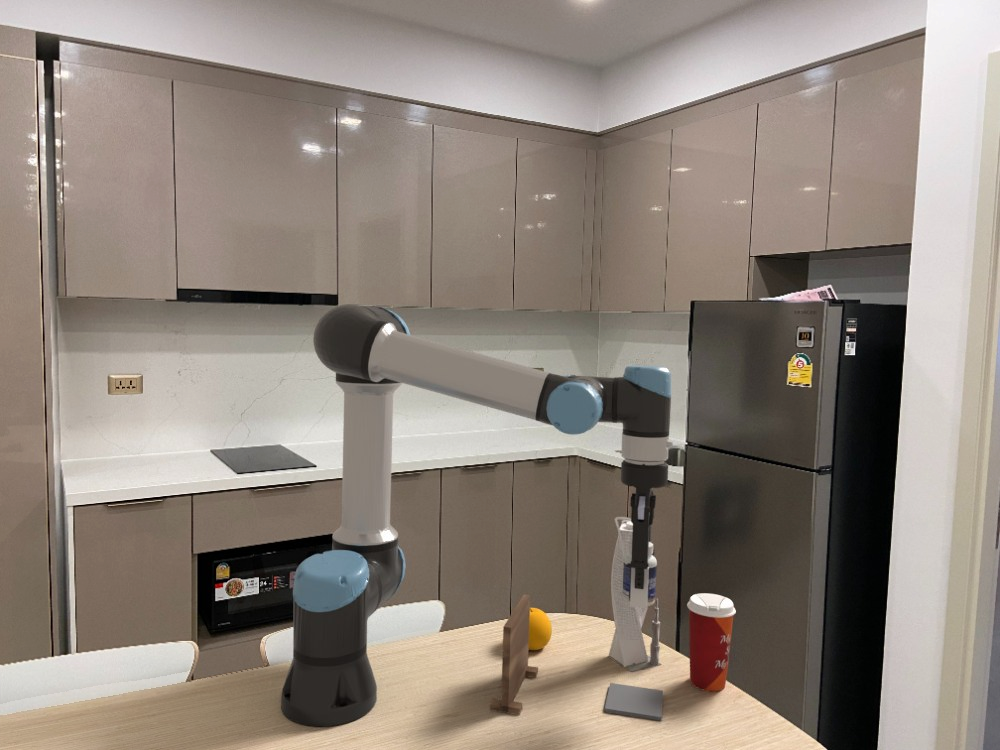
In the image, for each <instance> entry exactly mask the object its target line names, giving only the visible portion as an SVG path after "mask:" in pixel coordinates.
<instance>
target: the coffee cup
mask: <svg viewBox="0 0 1000 750" xmlns="http://www.w3.org/2000/svg"><path fill="white" fill-rule="evenodd" d="M686 607H687V608H688V621H689V622H688V625H689V627H688V632H689V634H688V635H689V641H688V642H689V643H688V644H689V647H688V648H689V679H690V683H691V685H692V686H693V687H695V688H697V689H700V690H701V691H707V692H720V691H722V690H724V689H725V687H726V682H727V674H728V667H729V656H730V650H731V640H732V632H733V631H732V630H733V622H734V615H735V614H736V608H735V606H734V602H733V601H732V600H731V599H730V598H728V597H726V596H723V595H720V594H715V593H705V592H704V593H702V592H701V593H695V594H693V595H692V596H690V598H689V601H688V602H687V604H686Z"/></svg>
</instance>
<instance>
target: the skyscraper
mask: <svg viewBox="0 0 1000 750" xmlns="http://www.w3.org/2000/svg"><path fill="white" fill-rule="evenodd" d="M613 520H614V523H615V526H616V529H617V533H618V534H617V535H618V536H617V539H616V542H615V543H616V544H615V546H614V547H615V548H614V552H613V559H612V565H611V577H610V578H611V579H610V590H611V591H610V592H611V593H610V594H611V605H612V612H613V613H612V614H613V621H614V627H615V630H614V633H613V638H612V642H611V645H610V648H609V651H608V658H610V657H611V658H610V659H612V660H613V661H614V660H615V661H614V662H616V663H617V664H619V665H620V666H622V668H625V670H627V671H628V672H630V673H632V672H637V671H641V670H646V669H649V668H654V667H658V666H662V663H660V662H659V659H660V658H659V657H660V652H661V651H660V650H661V649H660V648H661V645H660V633H661V632H660V629H661V622H660V620H659V612H660V609H659V607H658V606H659V598H655V607H654V618H653V619H654V620H652V621H651V642H650V645H649V646H650V649H649V650H650V651H649V652H650V654H649V655H650V656H649V655H648V654H647V650H646V645H645V641H644V636H643V632H642V628H643V624H644V621H645V619H646V614H647V611H648V607H649V606H647V608H639V607H631V606H630V604H628V603H626V602H625V601H624V600H623V598H622V591H623V568H624V557H625V556H626V555H627V554H629V553H630V552H629V550H628V547H629V542H630V541H632V534H633V523H632V522H631V517H626V516H616V517H615V518H614V519H613ZM618 520H620V521H621V523H620V525H619V521H618Z"/></svg>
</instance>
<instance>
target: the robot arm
mask: <svg viewBox="0 0 1000 750" xmlns="http://www.w3.org/2000/svg"><path fill="white" fill-rule="evenodd" d="M407 325H408V324H406V322H405V320H404V319H403V318H402V317H401V316H400V315H398V314H397V313H396V312H395V311H392V310H390V309H387V308H384V307H382V306H375V305H372V306H367V305H357V304H341V305H339V306H335V307H333V308H331V309H329V310H328V311H326V312H325V313H324V314H323V315H322V316H321V317H320V318H319V319H318V321H317V324H316V325H315V328H314V332H313V347H314V351H315V354H316V356H317V357H318V359H319V361H320V362H321V363H322V364H323V365H324V366H325V367H326V369H328V370H330V371H331V372H334V373H335V384H336V385H337V386H338V387H339V388H340V389H341V390H342V391H343V429H342V431H343V441H342V483H341V484H342V485H341V486H342V487H341V488H342V491H341V524H340V526H339V527H338V528H337V529H336V530H335V531H334V532H333V533H332V544H331V550H326V551H323V552H322V553H315V554H313V555H311V556H309V557H307V558H305V559H304V560H303V561H302V562H301V563H300V564H298V565H297V567H296V571H295V573H294V584H293V587H292V597H293V611H292V612H293V619H292V620H293V622H292V623H293V624H292V625H293V626H292V627H293V630H292V631H293V632H292V633H293V636H292V637H293V641H292V642H293V643H292V645H293V649H292V650H293V651H292V652H293V654H292V660H291V663H290V665H289V669H288V672H287V675H286V678H285V681H284V684H283V687H282V690H281V696H280V698H281V699H280V700H281V701H280V709H281V712H282V714H283V715H284V716H285V717H286V718H287V719H289V720H291V721H293V722H294V723H298V724H301V725H305V726H312V727H328V726H331V727H332V726H336V725H337V726H338V725H343V724H345V723H346V724H347V723H350V722H352V721H353V722H354V721H355V720H358V719H360V718H361V717H362V718H363V716H365V715H366V714H368V713H370V711H372V709H374V707H375V705H376V703H377V695H378V693H377V692H378V691H377V690H378V688H377V686H378V685H377V682H376V679H375V675H374V672H373V669H372V666H371V662H370V660H369V656H368V653H367V649H368V648H367V646H368V620H369V618H370V617H371V616H372V615H373V614H374V613H375V612H377V610H378V609H380V607H382V606H383V605H384V604H385V603H386V602H387V601H389V600H390V599H391V598H392V597H393V596H394V595H395V594H396V593H397V591H398V589H399V588H400V586H401V584H402V583H403V580H404V578H405V573H406V559H405V554H404V552H403V550H402V548H400V547H399V533H398V531H397V530H396V529H395V528H394V527H393V526H392V525H391V501H392V500H391V498H392V497H391V495H392V462H393V461H392V459H393V458H392V457H393V452H392V451H393V424H394V423H393V422H394V421H393V419H394V417H393V416H394V412H393V411H394V394H395V391H396V390H397V389H398V388H400V387H401V385H403V384H405V385H408V386H412V387H416V388H419V389H423V390H425V391H426V390H427V391H430V392H434V393H437V394H441V395H443V396H444V395H445V396H447V397H451V398H455V399H459V400H463V401H466V402H469V403H473V404H476V405H480V406H484V407H487V408H491V409H494V410H498V411H501V412H504V413H509V414H512V415H516V416H520V417H523V418H527V419H530V420H533V421H536V422H540V423H542V424H546V425H548V426H549V425H550V426H553V427H554V428H555V429H556V430H558V431H559V432H561V433H563V434H566V435H571V436H574V435H581V434H585V433H586V432H588V431H589V430H592V429H593V428H595V426H596V425H597V424H598V423H609V424H610V423H613V424H620V423H621V424H622V433H621V451H620V452H621V453H620V454H621V458H623V460H622V461H621V464H620V466H621V467H620V468H621V469H620V481H621V483H622V484H623V485H625V486H627V487H634V488H635V492H634V493H633V492H631V493H632V494H631V496H630V504H629V505H630V507H631V513H630V514H631V516H630V518H631V522H632V523H633V534H632V561H631V564H630V563H627V567H630V568H631V592H630V606H631V607H639V608H647V602H648V574H649V564H648V549H649V542H651V543H652V541H651V540H652V525H653V524H654V518H655V509H656V504H657V503H656V502H657V494H654V491H653V490H652V489H659V488H663V487H666V486H667V485H668V482H669V481H668V479H669V464H668V463H667V462H666V461H667V460H668V459H669V449H670V448H673V446H674V444H673V442H672V441H669V439H670V424H671V423H670V422H671V408H672V407H671V403H672V378H671V377H672V374H671V371H669V368H667V367H664V366H659V365H657V366H656V365H655V366H653V365H627V366H625V368H624V373H623V376H619V377H618V376H617V377H606V376H591V375H588V376H587V375H576V374H570V375H569V374H568V375H560V374H555V373H552V372H551V373H550V372H547V371H544V370H540V369H537V368H533V367H530V366H526V365H523V364H518V363H515V362H510V361H507V360H505V359H500V358H495V357H492V356H488V355H485V354H481V353H477V352H474V351H471V350H466V349H463V348H459V347H457V346H451V345H449V344H446V343H445V344H444V343H441V342H437V341H434V340H430V339H426V338H422V337H419V336H415V335H412V334H411V332H410V330H409V327H408V326H407ZM655 550H656V549H654V548H653V554H652V556H655V553H656V552H655ZM647 609H648V608H647Z"/></svg>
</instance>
